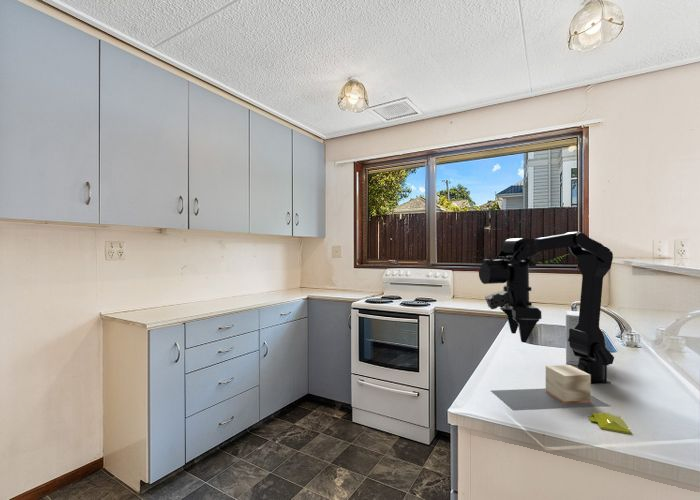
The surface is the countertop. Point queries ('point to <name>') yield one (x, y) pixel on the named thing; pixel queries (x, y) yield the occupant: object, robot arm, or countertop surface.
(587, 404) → the charcoal mat
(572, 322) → the supplement box
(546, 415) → the countertop surface
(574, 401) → the birch cube
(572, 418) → the countertop surface
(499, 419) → the countertop surface
